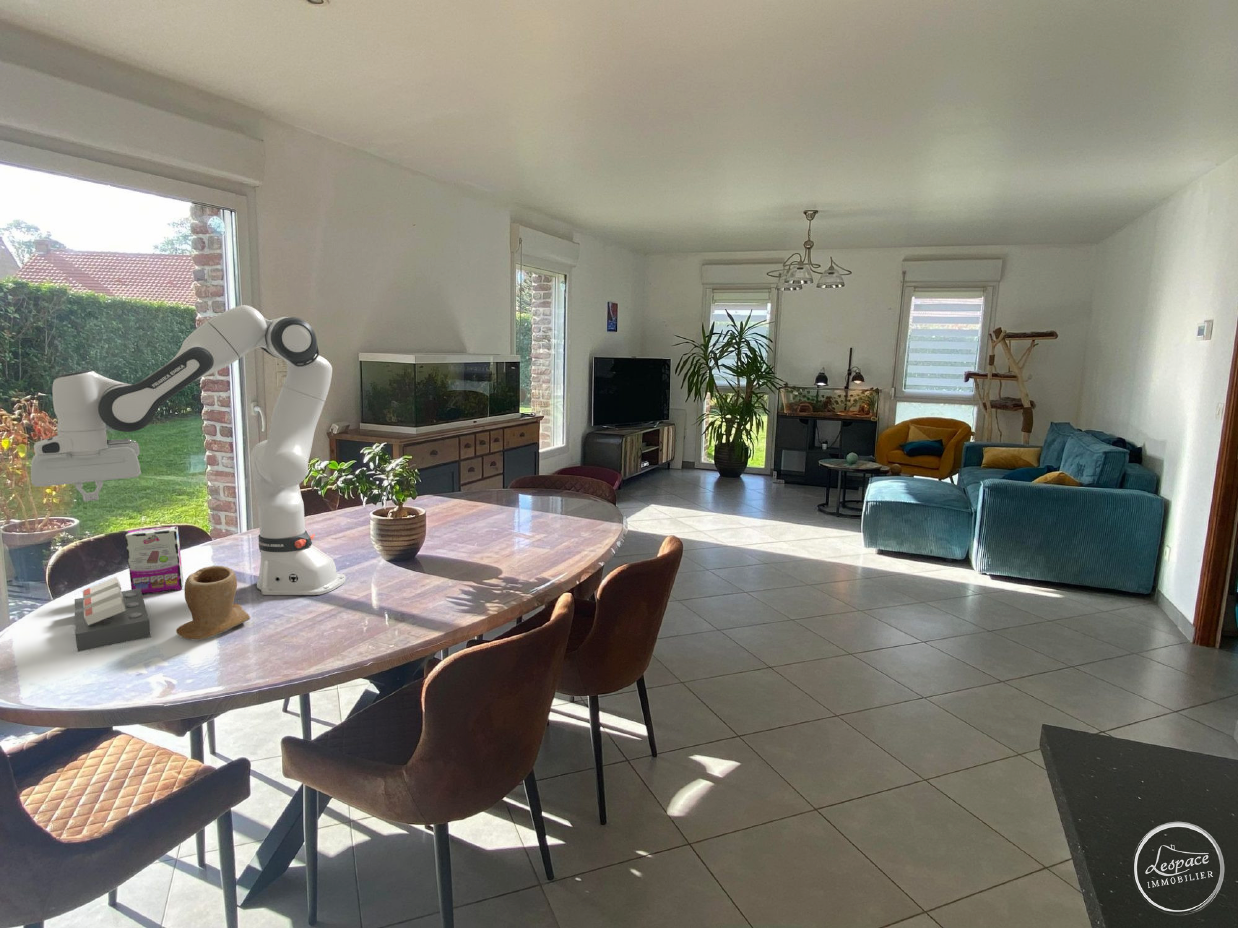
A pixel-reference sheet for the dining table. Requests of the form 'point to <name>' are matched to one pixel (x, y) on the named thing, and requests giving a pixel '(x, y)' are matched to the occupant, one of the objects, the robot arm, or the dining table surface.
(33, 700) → the dining table surface
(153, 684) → the dining table surface
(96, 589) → the rocker
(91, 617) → the rocker
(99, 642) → the switch panel
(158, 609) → the dining table surface
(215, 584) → the stone cup
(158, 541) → the candy bar box
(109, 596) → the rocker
